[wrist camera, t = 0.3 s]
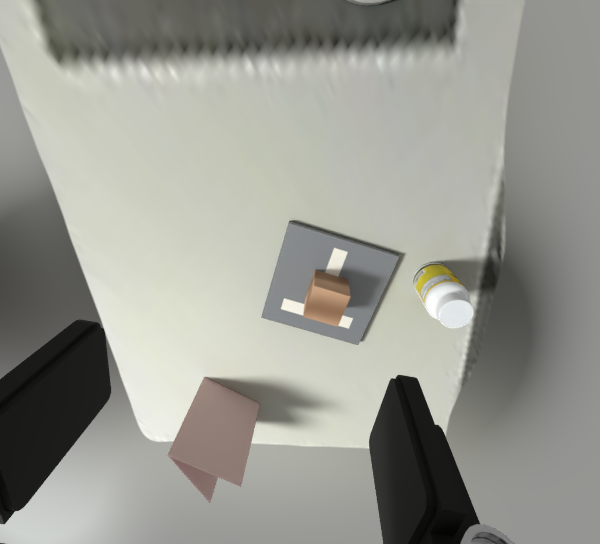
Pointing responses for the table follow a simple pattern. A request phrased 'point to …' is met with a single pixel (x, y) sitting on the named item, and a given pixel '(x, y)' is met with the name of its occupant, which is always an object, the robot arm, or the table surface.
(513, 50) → the table surface
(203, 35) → the table surface
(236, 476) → the greeting card
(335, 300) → the covering block
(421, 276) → the supplement bottle
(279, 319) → the letter pad
